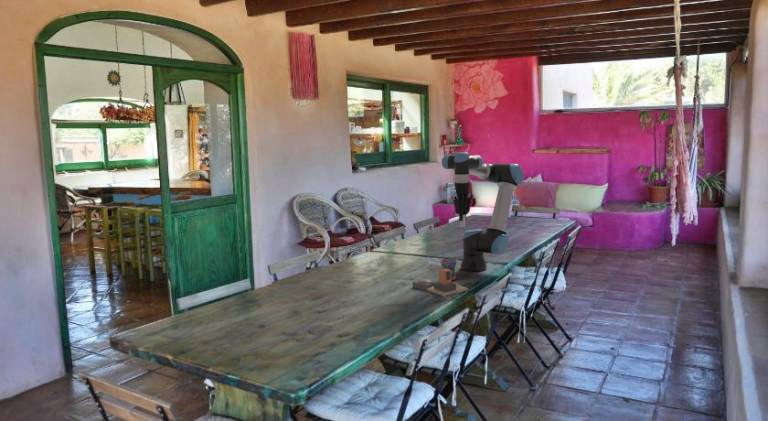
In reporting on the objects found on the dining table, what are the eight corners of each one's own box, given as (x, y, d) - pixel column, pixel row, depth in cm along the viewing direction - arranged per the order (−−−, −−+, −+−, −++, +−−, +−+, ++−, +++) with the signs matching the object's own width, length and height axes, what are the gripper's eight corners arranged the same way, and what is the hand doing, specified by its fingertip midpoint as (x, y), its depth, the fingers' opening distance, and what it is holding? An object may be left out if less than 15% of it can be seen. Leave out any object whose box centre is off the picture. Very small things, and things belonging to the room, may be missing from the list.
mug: (451, 282, 307) (451, 263, 305) (436, 280, 313) (436, 261, 311) (463, 277, 316) (462, 259, 315) (448, 275, 322) (448, 257, 320)
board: (447, 284, 304) (447, 276, 303) (467, 290, 291) (467, 282, 290) (423, 289, 295) (423, 281, 295) (443, 296, 282) (443, 287, 281)
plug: (444, 287, 293) (444, 268, 292) (452, 289, 289) (451, 270, 287) (438, 288, 291) (438, 269, 290) (446, 291, 286) (445, 271, 285)
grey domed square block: (425, 283, 307) (425, 276, 306) (439, 286, 300) (439, 279, 299) (412, 287, 300) (412, 280, 299) (426, 290, 293) (426, 283, 292)
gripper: (466, 180, 305) (467, 224, 308) (447, 182, 297) (448, 227, 301) (476, 181, 299) (476, 226, 302) (457, 183, 291) (458, 229, 294)
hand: (462, 226), depth 301 cm, fingers closed
